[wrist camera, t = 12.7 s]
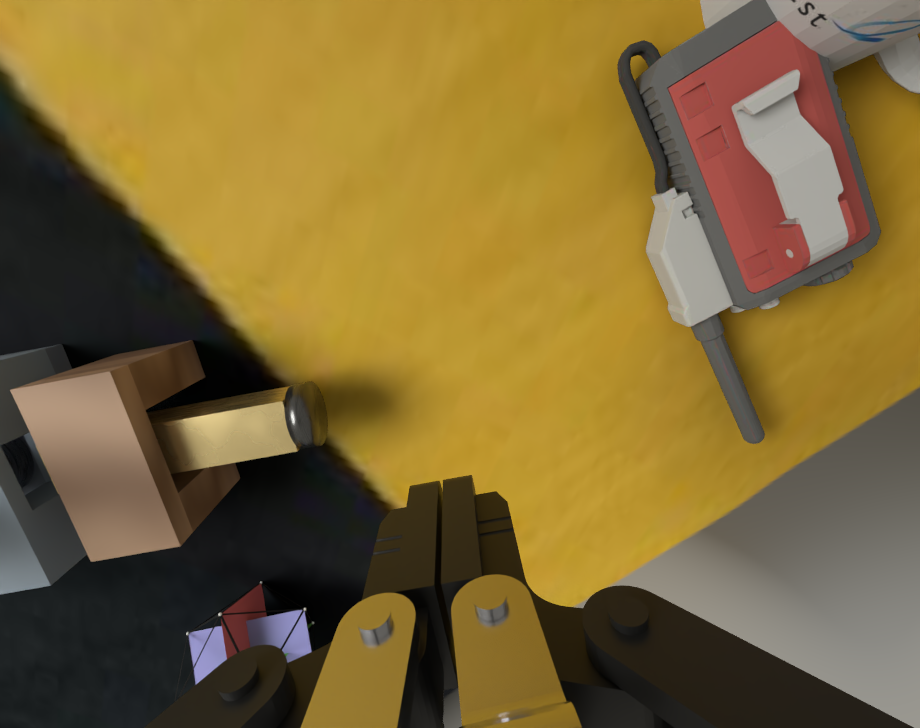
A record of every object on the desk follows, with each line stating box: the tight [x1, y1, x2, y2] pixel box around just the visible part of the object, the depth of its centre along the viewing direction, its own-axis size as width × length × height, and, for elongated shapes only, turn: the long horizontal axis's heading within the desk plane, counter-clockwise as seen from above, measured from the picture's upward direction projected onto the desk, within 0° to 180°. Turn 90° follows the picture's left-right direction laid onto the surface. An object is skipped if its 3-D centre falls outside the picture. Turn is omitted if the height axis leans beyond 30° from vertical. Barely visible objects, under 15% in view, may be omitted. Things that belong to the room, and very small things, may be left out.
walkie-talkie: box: [618, 0, 881, 444], centre depth 20 cm, size 9×4×20 cm
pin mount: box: [10, 340, 240, 562], centre depth 21 cm, size 8×4×6 cm, turn 10°
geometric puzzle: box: [174, 581, 315, 702], centre depth 24 cm, size 7×7×8 cm
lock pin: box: [36, 382, 328, 494], centre depth 21 cm, size 3×12×3 cm, turn 100°
